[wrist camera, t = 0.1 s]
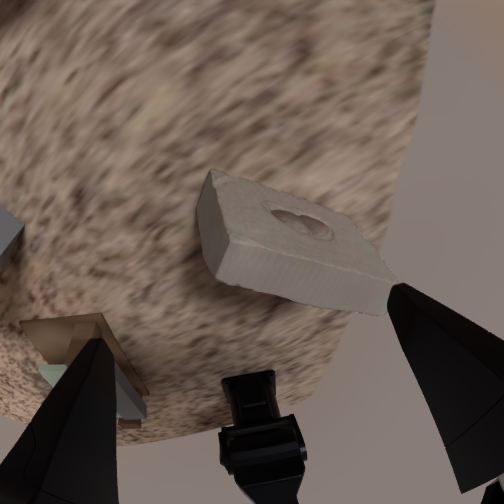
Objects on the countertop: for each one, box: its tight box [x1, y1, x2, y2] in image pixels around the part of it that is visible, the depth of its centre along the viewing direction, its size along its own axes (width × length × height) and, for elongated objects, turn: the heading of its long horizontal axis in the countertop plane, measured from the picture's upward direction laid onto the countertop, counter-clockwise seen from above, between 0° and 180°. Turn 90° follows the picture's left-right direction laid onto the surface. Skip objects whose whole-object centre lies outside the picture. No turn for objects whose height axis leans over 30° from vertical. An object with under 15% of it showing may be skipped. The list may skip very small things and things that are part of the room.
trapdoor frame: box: [19, 313, 149, 429], centre depth 27 cm, size 15×11×6 cm
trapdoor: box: [38, 361, 147, 420], centre depth 26 cm, size 10×9×2 cm
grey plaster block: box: [197, 169, 400, 316], centre depth 19 cm, size 12×4×10 cm, turn 68°
